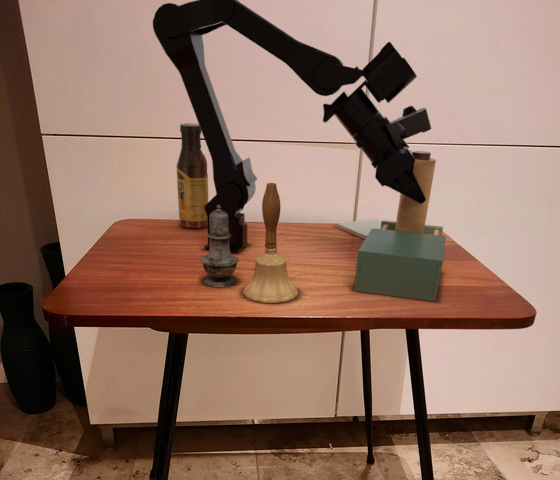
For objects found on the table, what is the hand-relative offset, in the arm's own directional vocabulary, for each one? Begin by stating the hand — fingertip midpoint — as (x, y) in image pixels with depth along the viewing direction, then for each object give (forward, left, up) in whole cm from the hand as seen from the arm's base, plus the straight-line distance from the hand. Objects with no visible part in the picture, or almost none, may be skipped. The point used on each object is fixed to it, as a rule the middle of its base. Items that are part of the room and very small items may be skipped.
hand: (422, 198), depth 94 cm
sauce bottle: (-46, +7, -11) cm, 48 cm away
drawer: (-1, +1, -10) cm, 10 cm away
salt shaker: (-28, -23, -11) cm, 38 cm away
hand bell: (-19, -25, -11) cm, 33 cm away
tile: (-10, +19, -11) cm, 25 cm away
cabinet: (-1, -12, -11) cm, 16 cm away
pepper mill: (-1, 0, -6) cm, 6 cm away
